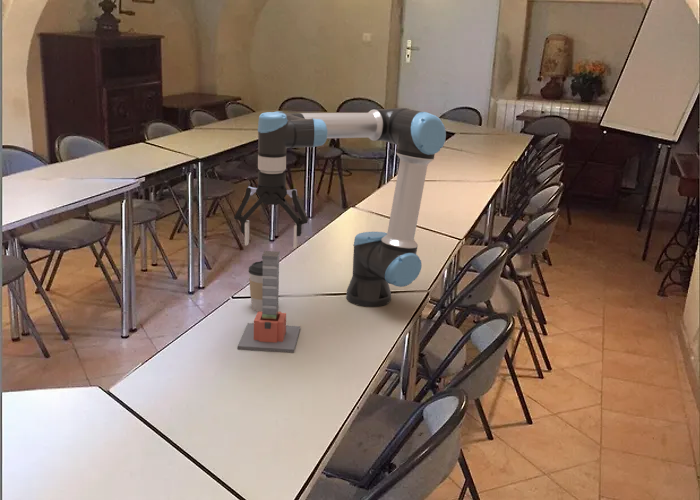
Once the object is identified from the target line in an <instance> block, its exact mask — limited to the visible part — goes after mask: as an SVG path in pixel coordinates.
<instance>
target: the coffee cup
mask: <svg viewBox="0 0 700 500" xmlns="http://www.w3.org/2000/svg"><path fill="white" fill-rule="evenodd" d="M248 273H249V274H248V276H249V279H248V281H249V291H250V293H249V294H250V300H251V301H250V302H251V309H252V310H253V311H256V312H258V311H259V312H262V295H263V288H262V286H263V260H260V261H256V262H253V263H252V264H251V265H250V266H248Z"/></svg>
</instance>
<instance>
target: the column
mask: <svg viewBox="0 0 700 500" xmlns="http://www.w3.org/2000/svg"><path fill="white" fill-rule="evenodd" d="M280 256H281V252H280V251H276V250H275V251H274V250H273V251H272V250H264V252H263V253H262V255H261V259H262V261H263V286H262V288H263V295H262V311H261V312H262V318H265V319H276V318H277V316H278V312H279V292H280V291H279V288H280V287H279V282H280V276H279V275H280Z"/></svg>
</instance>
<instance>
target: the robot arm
mask: <svg viewBox="0 0 700 500" xmlns="http://www.w3.org/2000/svg"><path fill="white" fill-rule="evenodd" d="M257 122H258V123H257V124H258V126H257V138H258V141H257V143H258V145H257V146H258V147H257V148H258V149H257V150H258V154H257V169H258V170H259V171H258V172H257V187H252V186H251V185H248V186H247V187H246V189H245V195H244V198H243V200H242V201H241V204H240V205H239V206H238V209H237V210H236V213H235V214H234V216H233V217H234V221H235V220H236V221H239V222H240V232H241V233H242V234H244V246H248V245H249V244H250V220H247V219H249V218H250V217H251V215H252V214H254V212H256V210H257V209H258V208H259V207H260V206H261V205H262V203H263V204H265V206H268V205H269V206H270V205H273V206H278V205H279V206H281V208H283V210H284V211H285V212H286V213H287V214H288V215H289V217H290V218H291V219H292V221H293V222H294V225H293V246H292V247H293V249H297V247H298V237H300V236H301V235H302V229H303V227H302V225H304V224H305V225H306V224H308V221H309V216H308V215H307V213H306V211H305V209H304V207H303V204H302V203H301V200H300V198H299V196H298V195H299V193H298V189H297V188H293V189H287V180H286V179H287V173H286V170H287V149H294V148H314V147H320V146H321V147H322V146H323V145H324V144H326V142H327V139H359V138H361V139H362V138H366V139H367V138H368V139H369V140H370V141H373V142H375V141H377V142H378V141H381V142H386V143H388V144H393V145H396V146H397V147H396V156H397V157H398V159H399V164H398V169H397V171H398V172H397V175H396V182H395V188H394V194H393V199H392V203H391V204H392V205H391V210H390V215H389V221H388V226H387V227H388V228H387V232H384V231H363V232H359V233H357V234H356V235H355V236H354V240H353V244H352V245H353V255H352V256H353V258H352V259H353V260H352V276H351V279H350V281H349V284H348V286H347V290H346V295H345V296H346V300H347V301H348V302H350V303H351V304H353V305H356V306H359V307H360V306H361V307H366V308H367V307H370V308H372V307H373V308H374V307H375V308H376V307H381V306H385V305H387V304H389V303H390V302H391V300H392V291H391V288H390V285H392V286H395V287H399V288H401V287H406V286H409V285H411V284H412V283H413V281H416V280H417V278H418V277H419V275H420V273H421V270H422V260H421V259H420V256H418V254H417V251H418V246H419V245H418V243H417V242H416V240H415V235H416V231H417V225H418V221H419V215H420V208H421V204H422V198H423V192H424V186H425V182H426V176H427V169H428V165H429V164H430V163H431V162H432V161H434V160H435V155H436V154H437V153H439V152H440V151H441V149H442V148H443V147H444V146H445V142H446V138H447V132H446V126H445V124H444V123H443V121H442V120H441V118H440V117H438V116H437V115H435V114H432V113H430V112H427V111H420V110H415V109H410V108H406V107H395V108H394V107H393V108H382V109H381V108H380V109H379V108H378V109H376V108H375V109H371V110H369V111H368V112H284V111H274V112H273V111H267V112H262V113H261V114H260V115H259V116H258V121H257ZM255 193H256V195H257V196H258V199H257V200H256V202H255V203H253V205H252V206H251V207H250V208H249V209H248V210H247V211H246V212H245V214H243V212H244V210H245V208H246V206H247V204H248V202H249V200H250V198H251V196H253V195H254V194H255ZM287 195H288V196H289V197H290V199H291V198H292V201H293V204H294V206H295V208H296V210H297V212H298V214H299V215H298V214H297V213H296V211H295V210H294V209H293V207H292V206H291V205H290V204H289V202H288V201H287V199H286V196H287ZM242 214H243V215H242Z"/></svg>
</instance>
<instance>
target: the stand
mask: <svg viewBox="0 0 700 500" xmlns="http://www.w3.org/2000/svg"><path fill="white" fill-rule="evenodd" d="M256 312H257V313H256V315H255V317H254V319H253V322H252V323H251V322H247V324H246V327H245V329H244V330H243V333H242V335H241V337H240V340H239V342H238V344H237V350H241V351H242V350H245V351H258V352H259V351H260V352H261V351H262V352H277V353H291V354H294V353H295V349H296V347H297V343H298V339H299V336H300V332H301V325H289V324H287V313H286V312H282V311H278V316H277V318H276V319H265V318H262V311H256Z"/></svg>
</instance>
